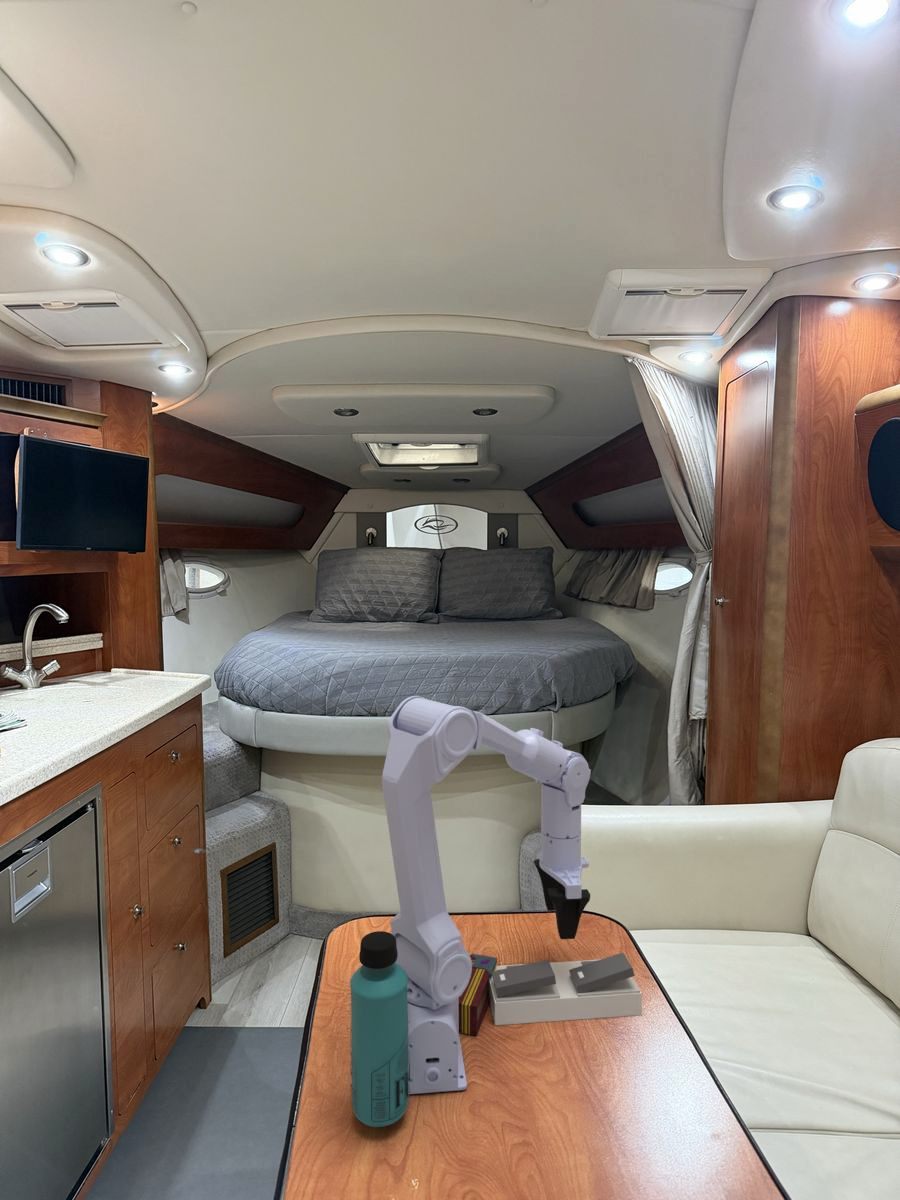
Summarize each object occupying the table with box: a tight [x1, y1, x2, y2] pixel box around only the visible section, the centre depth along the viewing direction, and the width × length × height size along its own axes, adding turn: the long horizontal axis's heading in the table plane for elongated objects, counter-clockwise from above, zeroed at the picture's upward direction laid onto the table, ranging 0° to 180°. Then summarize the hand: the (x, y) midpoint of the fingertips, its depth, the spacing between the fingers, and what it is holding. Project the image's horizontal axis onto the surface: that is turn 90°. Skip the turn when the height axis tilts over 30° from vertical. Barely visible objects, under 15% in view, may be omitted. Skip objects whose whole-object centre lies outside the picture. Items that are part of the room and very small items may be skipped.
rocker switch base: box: [488, 959, 643, 1026], centre depth 91 cm, size 8×20×3 cm, turn 96°
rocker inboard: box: [492, 958, 556, 997], centre depth 88 cm, size 4×8×1 cm, turn 96°
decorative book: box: [459, 953, 498, 1037], centre depth 91 cm, size 11×16×5 cm
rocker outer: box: [569, 952, 635, 993], centre depth 89 cm, size 4×8×1 cm, turn 96°
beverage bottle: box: [349, 930, 411, 1128], centre depth 71 cm, size 6×7×20 cm
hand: (560, 923), depth 95 cm, fingers open, 7 cm apart
